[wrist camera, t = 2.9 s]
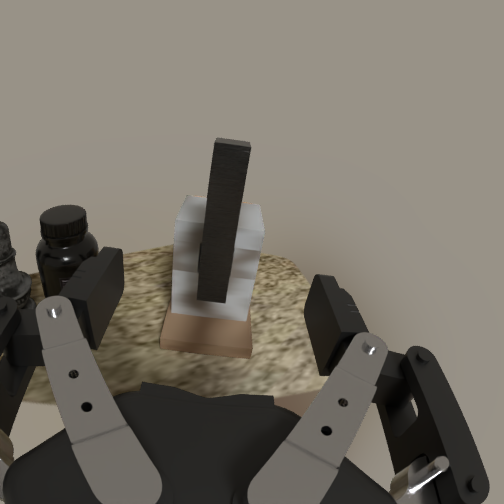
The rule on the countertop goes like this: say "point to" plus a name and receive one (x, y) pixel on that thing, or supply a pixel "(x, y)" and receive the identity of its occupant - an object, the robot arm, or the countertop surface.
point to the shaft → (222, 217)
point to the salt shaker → (13, 274)
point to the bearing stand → (186, 284)
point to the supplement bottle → (63, 246)
